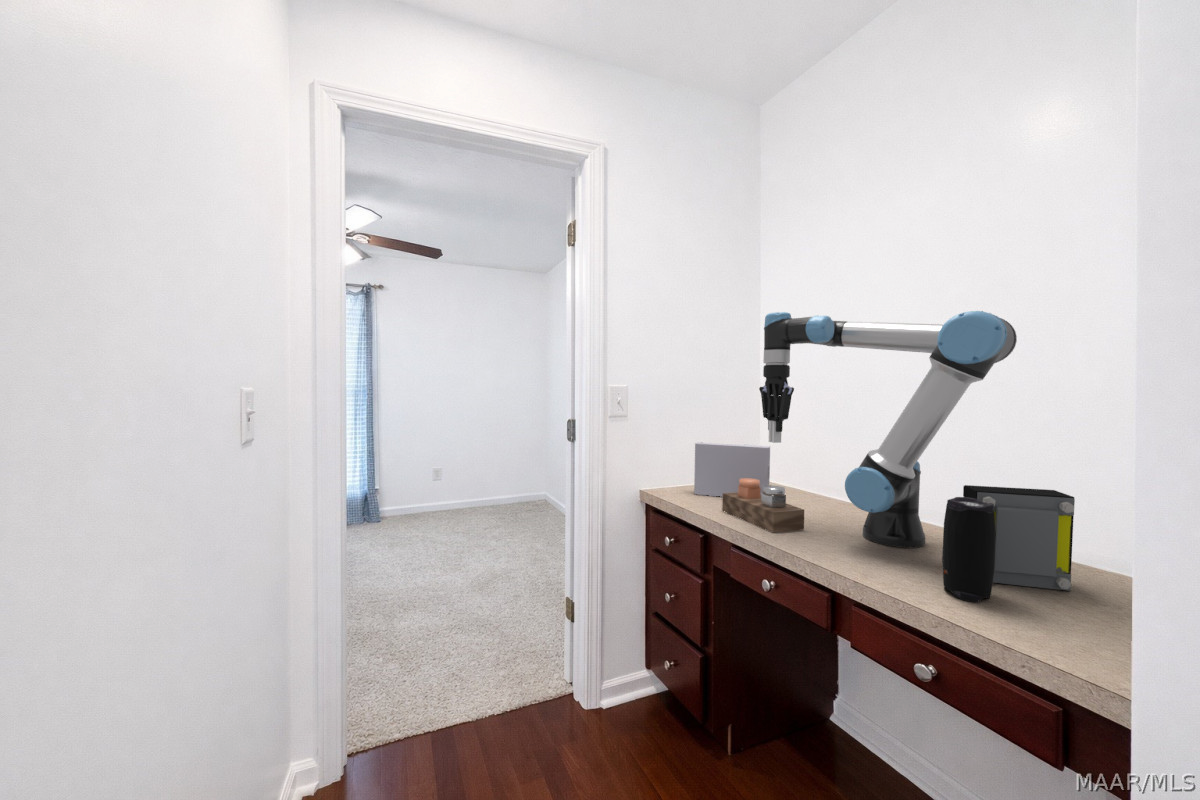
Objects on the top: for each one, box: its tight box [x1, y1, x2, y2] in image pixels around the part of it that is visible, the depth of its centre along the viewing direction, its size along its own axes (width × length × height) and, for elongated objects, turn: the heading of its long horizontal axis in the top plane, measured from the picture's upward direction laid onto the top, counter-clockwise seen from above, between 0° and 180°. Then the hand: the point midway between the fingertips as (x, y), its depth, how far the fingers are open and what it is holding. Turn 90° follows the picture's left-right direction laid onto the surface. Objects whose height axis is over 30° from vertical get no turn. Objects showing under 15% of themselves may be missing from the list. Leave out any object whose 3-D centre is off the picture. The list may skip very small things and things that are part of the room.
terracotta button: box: [738, 478, 761, 499], centre depth 162 cm, size 6×6×6 cm
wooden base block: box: [721, 492, 805, 534], centre depth 157 cm, size 26×11×6 cm, turn 19°
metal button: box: [761, 484, 787, 508], centre depth 151 cm, size 6×6×6 cm
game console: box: [693, 441, 771, 498], centre depth 188 cm, size 6×27×20 cm, turn 67°
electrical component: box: [962, 484, 1076, 592], centre depth 109 cm, size 18×10×20 cm, turn 73°
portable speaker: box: [941, 496, 996, 603], centre depth 102 cm, size 9×9×20 cm
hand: (774, 442), depth 150 cm, fingers closed
